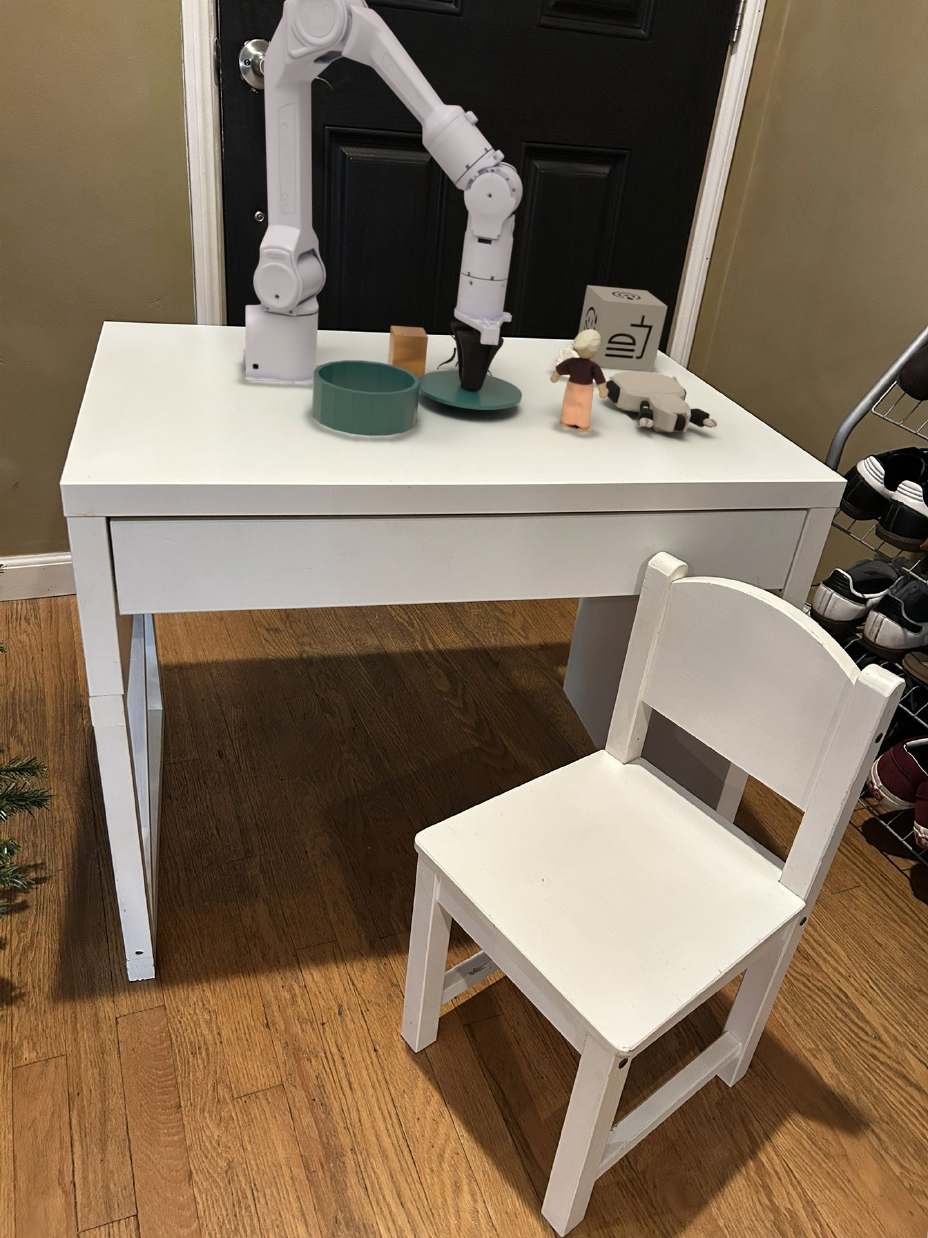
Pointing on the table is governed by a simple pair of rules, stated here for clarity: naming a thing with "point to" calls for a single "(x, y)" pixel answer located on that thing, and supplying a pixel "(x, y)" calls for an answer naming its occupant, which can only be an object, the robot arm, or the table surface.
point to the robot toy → (655, 401)
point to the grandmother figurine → (581, 381)
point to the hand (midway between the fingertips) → (470, 385)
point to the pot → (365, 397)
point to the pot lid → (469, 391)
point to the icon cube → (624, 326)
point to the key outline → (569, 352)
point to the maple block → (408, 349)
